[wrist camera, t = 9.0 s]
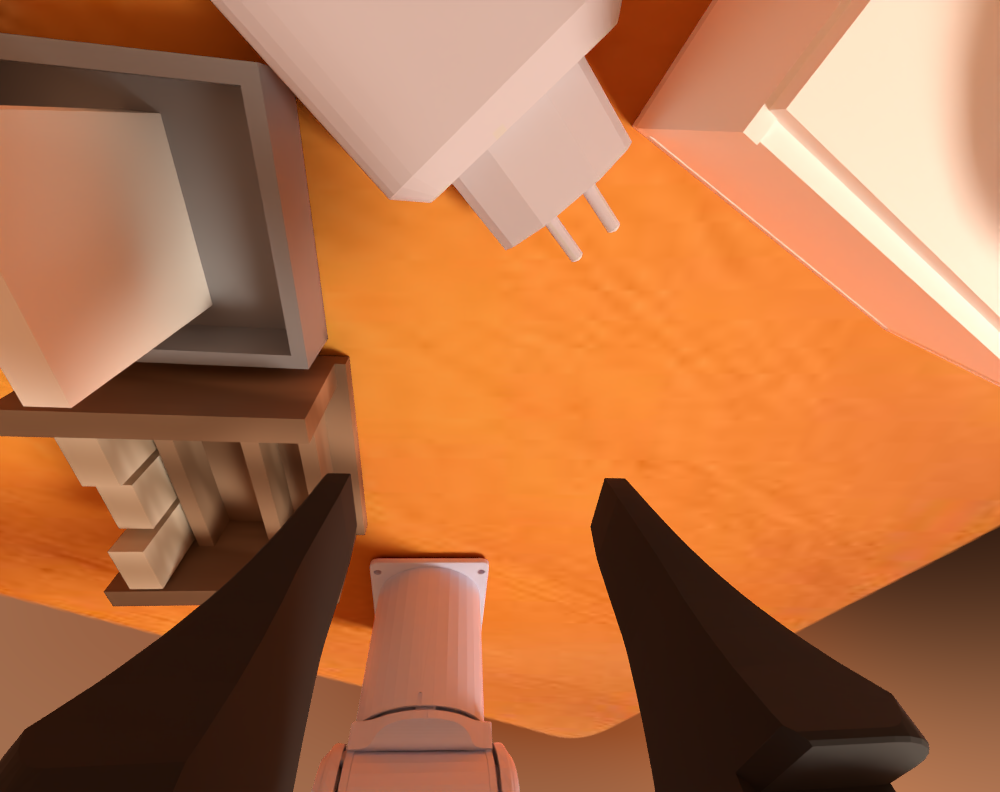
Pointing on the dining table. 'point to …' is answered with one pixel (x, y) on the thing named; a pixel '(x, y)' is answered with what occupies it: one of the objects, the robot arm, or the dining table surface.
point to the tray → (208, 185)
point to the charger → (455, 98)
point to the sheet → (89, 248)
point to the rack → (219, 453)
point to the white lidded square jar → (856, 151)
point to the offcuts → (135, 505)
